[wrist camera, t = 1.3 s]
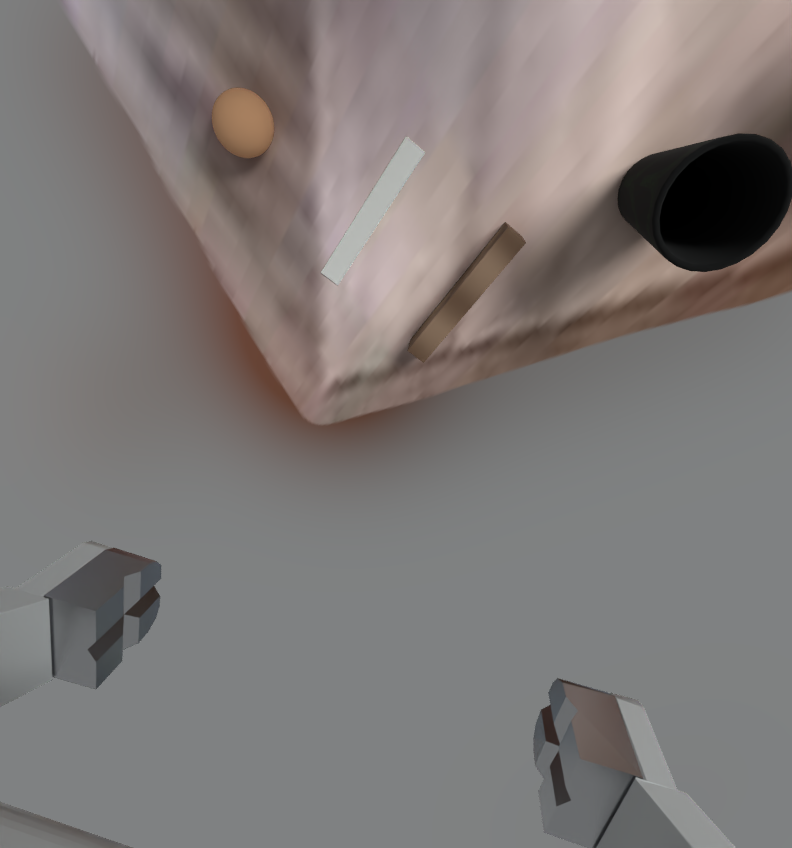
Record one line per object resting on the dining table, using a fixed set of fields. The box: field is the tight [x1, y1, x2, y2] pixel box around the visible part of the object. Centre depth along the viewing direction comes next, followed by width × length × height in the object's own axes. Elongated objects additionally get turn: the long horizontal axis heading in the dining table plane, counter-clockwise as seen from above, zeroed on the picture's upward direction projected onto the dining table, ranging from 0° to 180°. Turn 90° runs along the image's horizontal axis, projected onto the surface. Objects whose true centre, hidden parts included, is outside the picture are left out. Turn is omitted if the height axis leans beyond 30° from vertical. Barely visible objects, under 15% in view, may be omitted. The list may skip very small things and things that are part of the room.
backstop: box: [407, 222, 526, 363], centre depth 43 cm, size 14×2×3 cm, turn 144°
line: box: [321, 136, 425, 285], centre depth 43 cm, size 14×2×1 cm, turn 144°
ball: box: [212, 88, 274, 158], centre depth 38 cm, size 5×5×5 cm
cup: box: [618, 134, 792, 272], centre depth 33 cm, size 8×8×12 cm
